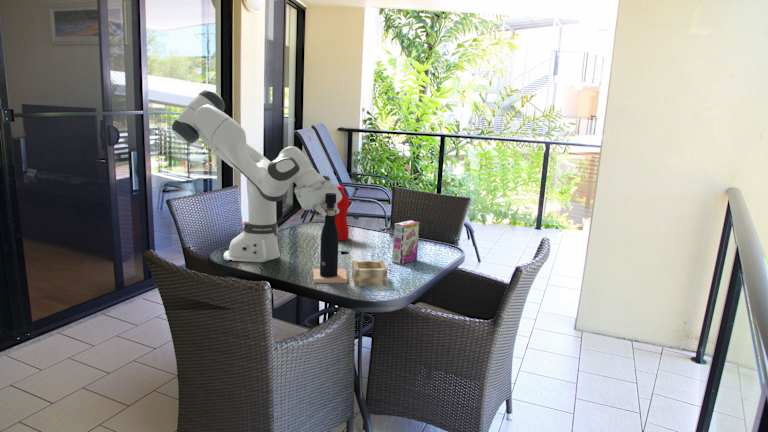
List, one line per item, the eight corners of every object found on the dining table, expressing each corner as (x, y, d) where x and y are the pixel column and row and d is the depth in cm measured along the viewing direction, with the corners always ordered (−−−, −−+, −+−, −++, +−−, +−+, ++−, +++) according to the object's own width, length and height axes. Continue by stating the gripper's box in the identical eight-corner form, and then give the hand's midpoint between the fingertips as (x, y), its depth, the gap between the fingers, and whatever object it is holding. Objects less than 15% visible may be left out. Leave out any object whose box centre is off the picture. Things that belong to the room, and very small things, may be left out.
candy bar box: (401, 265, 232) (403, 225, 229) (391, 262, 235) (393, 223, 232) (417, 260, 241) (420, 221, 237) (408, 257, 244) (410, 219, 240)
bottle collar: (354, 286, 205) (355, 269, 203) (351, 276, 216) (352, 260, 214) (386, 285, 206) (387, 269, 205) (382, 275, 217) (382, 260, 216)
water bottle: (322, 237, 272) (323, 184, 267) (345, 236, 276) (346, 184, 271) (326, 241, 264) (327, 187, 259) (349, 241, 267) (351, 187, 262)
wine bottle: (338, 272, 214) (340, 192, 208) (336, 277, 208) (339, 195, 202) (320, 271, 214) (322, 192, 208) (318, 277, 208) (320, 194, 202)
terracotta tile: (313, 283, 206) (313, 279, 206) (313, 272, 218) (313, 269, 217) (347, 282, 208) (347, 278, 208) (344, 272, 219) (344, 268, 219)
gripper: (296, 181, 200) (318, 213, 197) (332, 176, 217) (353, 205, 214) (287, 193, 203) (308, 224, 200) (322, 186, 220) (343, 215, 217)
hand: (331, 214), depth 207 cm, fingers open, 5 cm apart
